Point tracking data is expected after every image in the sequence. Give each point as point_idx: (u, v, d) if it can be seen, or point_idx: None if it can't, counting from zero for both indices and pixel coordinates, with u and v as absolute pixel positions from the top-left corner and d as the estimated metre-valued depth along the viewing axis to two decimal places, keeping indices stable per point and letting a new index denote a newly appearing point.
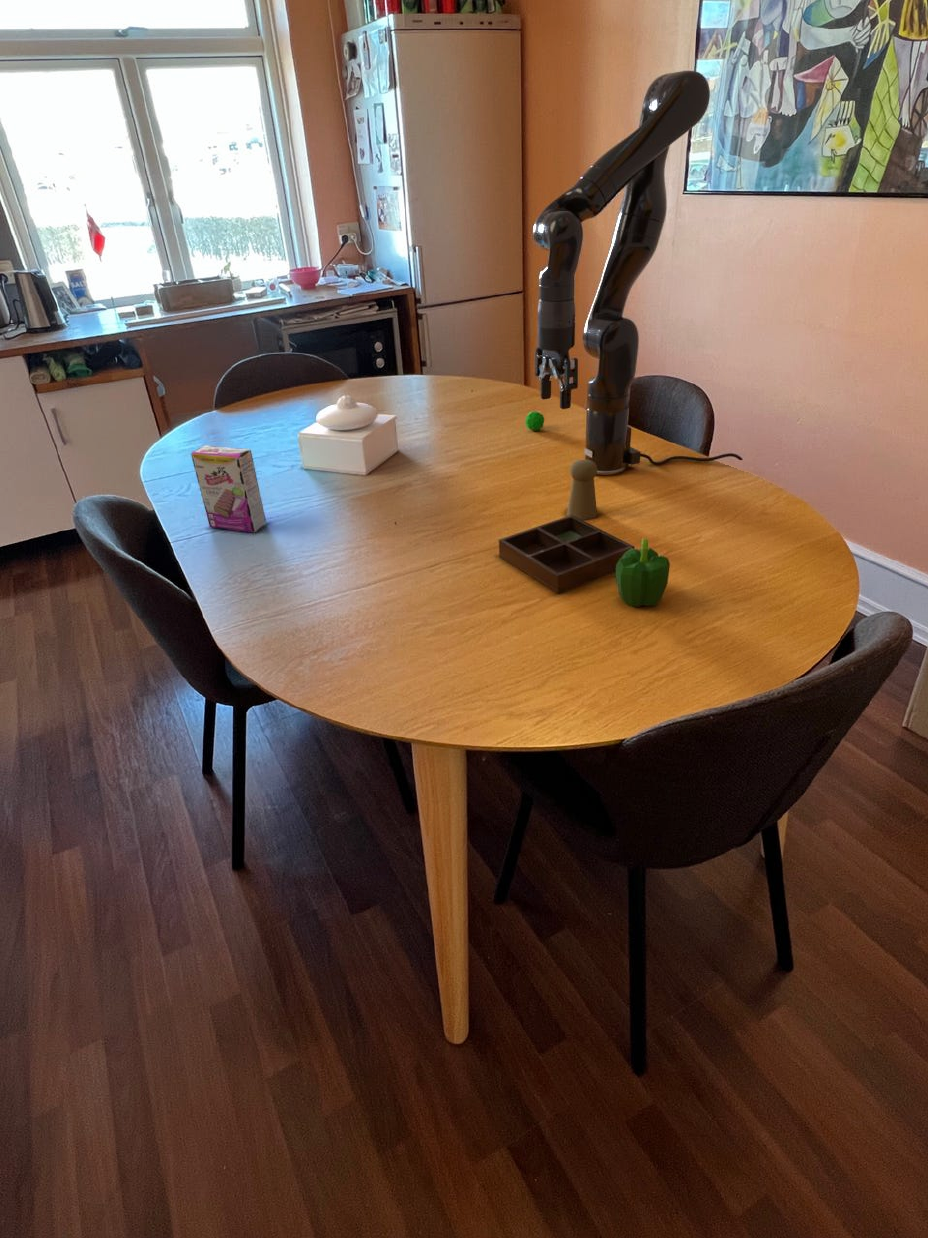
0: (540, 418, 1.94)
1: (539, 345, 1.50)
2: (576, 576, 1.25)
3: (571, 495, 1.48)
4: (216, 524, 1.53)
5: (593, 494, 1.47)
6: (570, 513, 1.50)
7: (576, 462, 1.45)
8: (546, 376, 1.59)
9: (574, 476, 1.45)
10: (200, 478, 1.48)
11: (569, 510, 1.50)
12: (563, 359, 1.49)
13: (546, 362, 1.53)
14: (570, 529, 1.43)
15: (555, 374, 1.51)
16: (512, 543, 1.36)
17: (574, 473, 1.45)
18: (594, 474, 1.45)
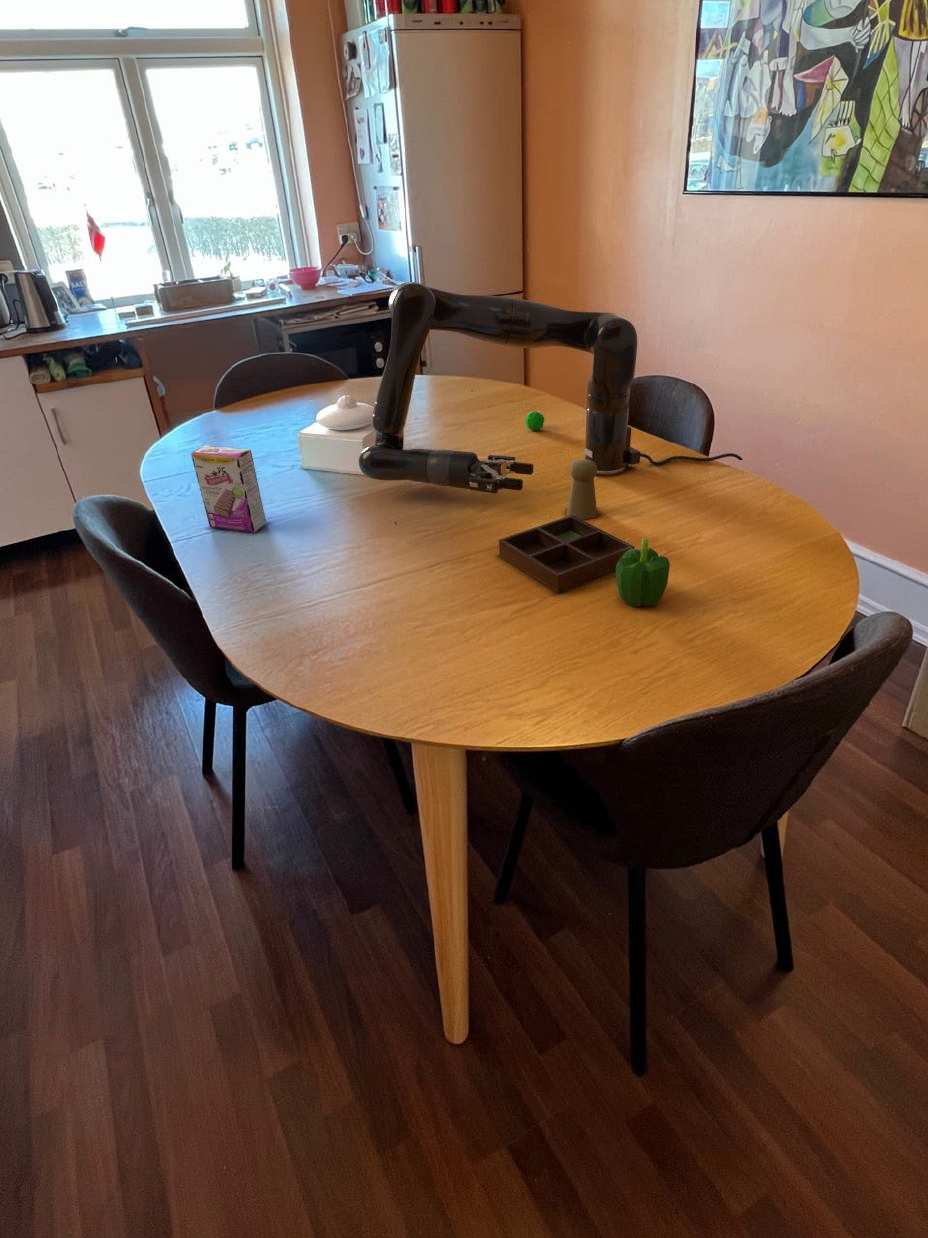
0: (540, 418, 1.94)
1: None
2: (576, 576, 1.25)
3: (571, 495, 1.48)
4: (216, 524, 1.53)
5: (593, 494, 1.47)
6: (570, 513, 1.50)
7: (576, 462, 1.45)
8: (511, 466, 1.55)
9: (574, 476, 1.45)
10: (200, 478, 1.48)
11: (569, 510, 1.50)
12: None
13: None
14: (570, 529, 1.43)
15: None
16: (512, 543, 1.36)
17: (574, 473, 1.45)
18: (594, 474, 1.45)
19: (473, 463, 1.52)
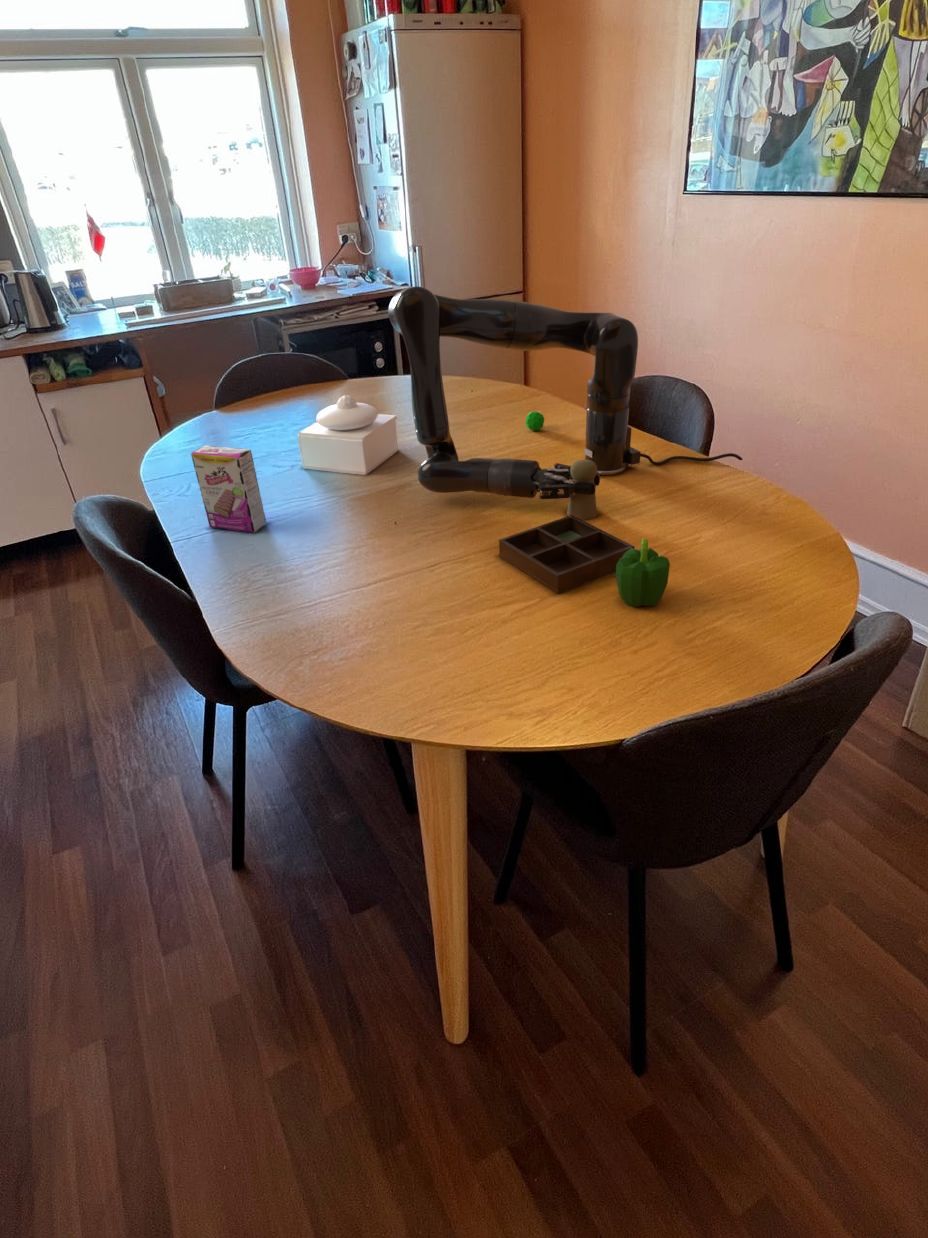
0: (540, 418, 1.94)
1: None
2: (576, 576, 1.25)
3: (571, 495, 1.48)
4: (216, 524, 1.53)
5: (593, 494, 1.47)
6: (570, 513, 1.50)
7: (576, 462, 1.45)
8: None
9: (574, 476, 1.45)
10: (200, 478, 1.48)
11: (569, 510, 1.50)
12: None
13: None
14: (570, 529, 1.43)
15: None
16: (512, 543, 1.36)
17: (574, 473, 1.45)
18: (594, 474, 1.45)
19: (535, 471, 1.49)
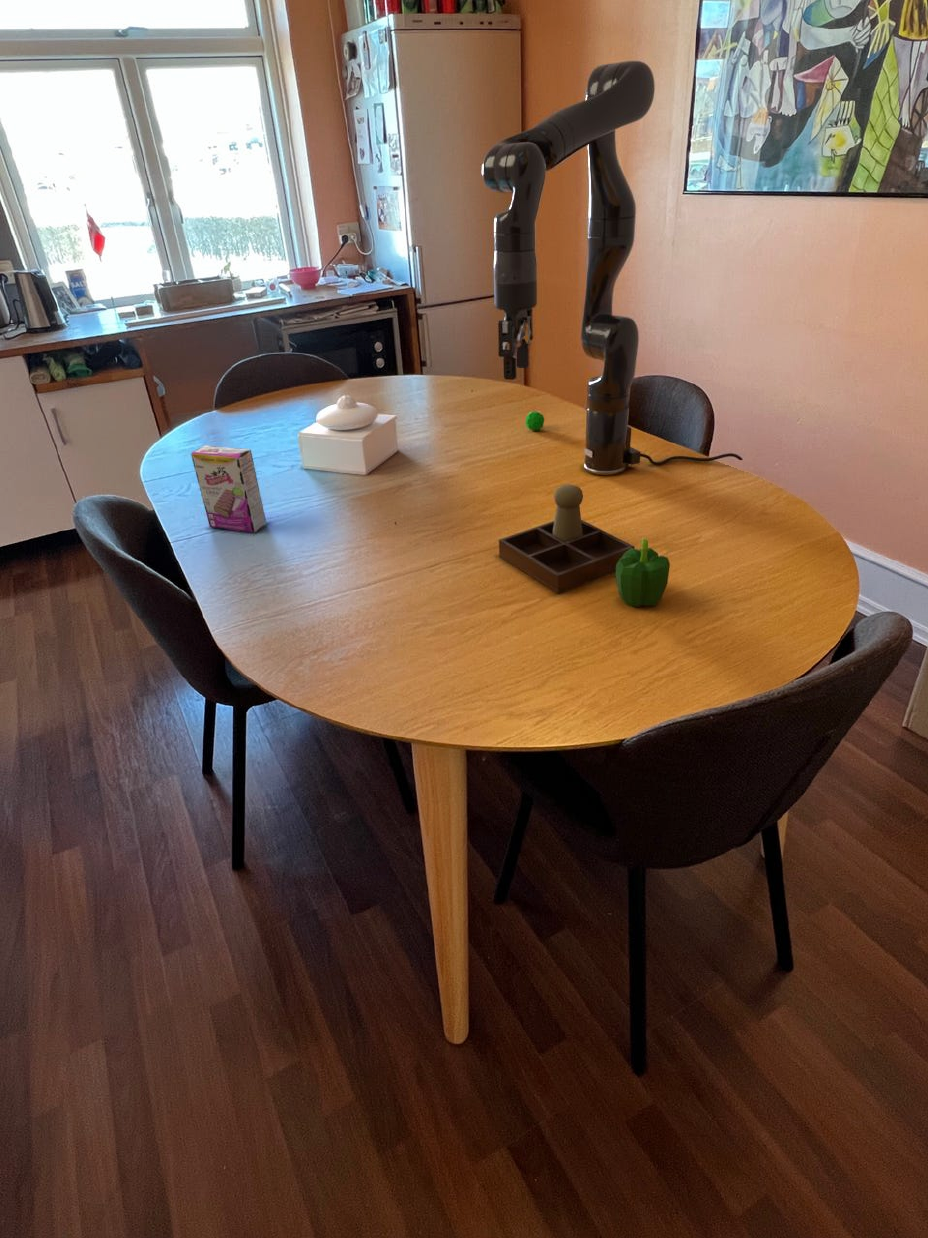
0: (540, 418, 1.94)
1: None
2: (576, 576, 1.25)
3: (555, 523, 1.36)
4: (216, 524, 1.53)
5: (579, 522, 1.35)
6: None
7: (560, 488, 1.33)
8: (522, 341, 1.39)
9: (558, 503, 1.33)
10: (200, 478, 1.48)
11: None
12: (506, 321, 1.30)
13: None
14: None
15: None
16: (512, 543, 1.36)
17: (558, 500, 1.33)
18: (580, 501, 1.33)
19: None
